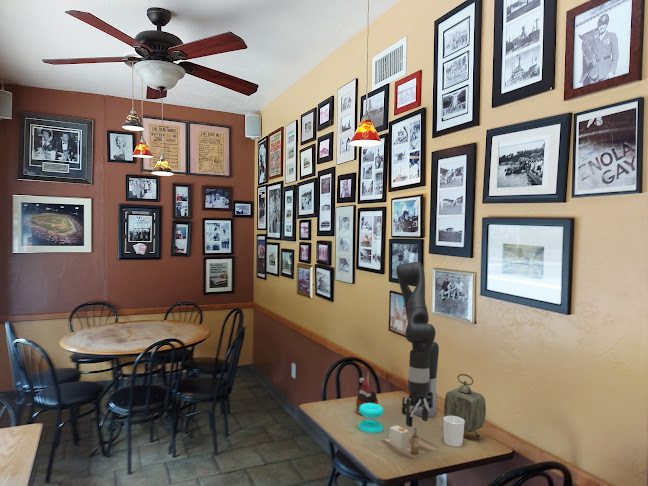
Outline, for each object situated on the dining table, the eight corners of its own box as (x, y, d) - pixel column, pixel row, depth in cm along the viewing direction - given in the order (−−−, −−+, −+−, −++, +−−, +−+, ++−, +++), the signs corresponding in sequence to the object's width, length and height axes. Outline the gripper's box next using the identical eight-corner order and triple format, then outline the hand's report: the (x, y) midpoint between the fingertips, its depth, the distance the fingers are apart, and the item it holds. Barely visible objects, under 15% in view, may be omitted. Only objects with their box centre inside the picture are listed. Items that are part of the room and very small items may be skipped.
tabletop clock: (484, 439, 177) (487, 376, 177) (473, 445, 171) (476, 381, 171) (452, 427, 187) (454, 368, 187) (440, 432, 181) (443, 371, 181)
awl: (420, 453, 159) (421, 429, 159) (414, 455, 157) (416, 430, 157) (414, 450, 161) (415, 426, 161) (409, 452, 160) (410, 427, 160)
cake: (382, 415, 197) (383, 374, 197) (365, 418, 192) (367, 377, 192) (367, 407, 206) (368, 368, 206) (351, 410, 201) (353, 371, 201)
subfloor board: (407, 434, 178) (407, 431, 178) (439, 450, 165) (440, 447, 165) (375, 445, 167) (375, 442, 167) (407, 463, 154) (407, 460, 154)
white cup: (460, 452, 164) (461, 425, 164) (439, 446, 169) (440, 420, 169) (465, 444, 171) (467, 418, 171) (445, 439, 175) (446, 414, 175)
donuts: (360, 400, 186) (384, 403, 184) (359, 424, 186) (383, 427, 184) (357, 409, 176) (382, 412, 174) (356, 434, 176) (381, 437, 174)
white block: (396, 440, 169) (397, 423, 169) (408, 446, 164) (409, 429, 164) (389, 443, 167) (389, 425, 167) (400, 449, 162) (401, 431, 162)
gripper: (423, 372, 166) (421, 415, 167) (397, 379, 158) (395, 424, 158) (439, 378, 160) (437, 422, 161) (413, 385, 152) (412, 431, 152)
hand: (417, 423), depth 159 cm, fingers open, 8 cm apart
